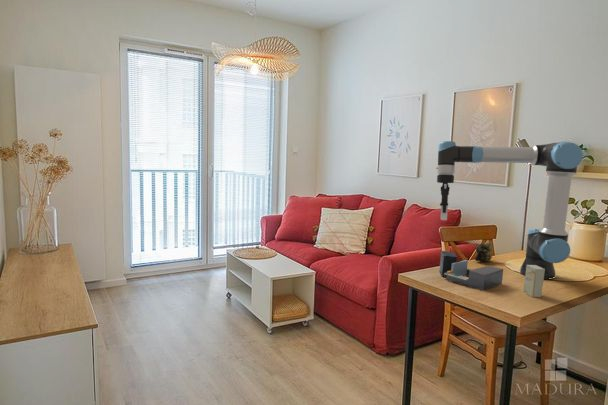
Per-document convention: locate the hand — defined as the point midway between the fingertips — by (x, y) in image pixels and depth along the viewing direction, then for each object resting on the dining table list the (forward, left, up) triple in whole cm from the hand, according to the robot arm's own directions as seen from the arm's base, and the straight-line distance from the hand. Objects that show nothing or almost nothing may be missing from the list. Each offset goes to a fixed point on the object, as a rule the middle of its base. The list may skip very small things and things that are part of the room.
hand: (443, 219), depth 193 cm
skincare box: (-39, -9, -27) cm, 48 cm away
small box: (-2, -4, -27) cm, 28 cm away
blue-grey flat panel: (-8, -2, -26) cm, 27 cm away
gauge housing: (-15, -4, -27) cm, 31 cm away
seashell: (+3, -45, -27) cm, 52 cm away
